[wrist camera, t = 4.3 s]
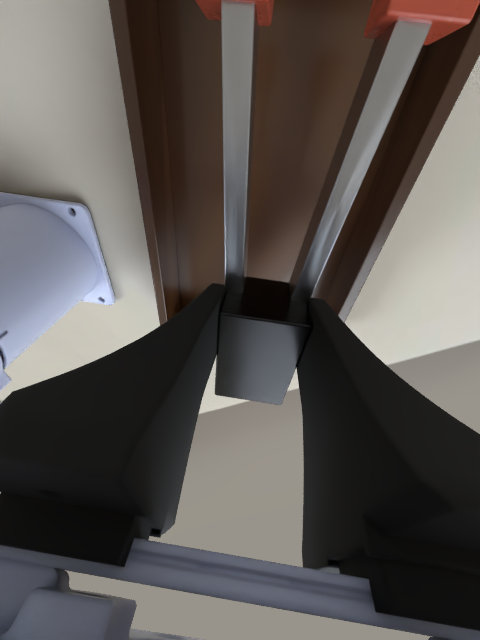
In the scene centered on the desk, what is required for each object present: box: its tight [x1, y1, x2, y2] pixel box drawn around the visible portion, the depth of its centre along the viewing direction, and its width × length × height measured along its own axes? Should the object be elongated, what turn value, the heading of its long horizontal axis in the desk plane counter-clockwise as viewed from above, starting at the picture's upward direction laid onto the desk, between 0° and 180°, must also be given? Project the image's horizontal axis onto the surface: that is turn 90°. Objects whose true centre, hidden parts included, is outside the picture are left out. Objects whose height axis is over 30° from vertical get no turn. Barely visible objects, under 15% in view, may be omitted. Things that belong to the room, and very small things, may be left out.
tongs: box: [195, 0, 480, 405], centre depth 8 cm, size 5×15×3 cm, turn 175°
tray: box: [108, 0, 480, 326], centre depth 13 cm, size 12×18×4 cm
